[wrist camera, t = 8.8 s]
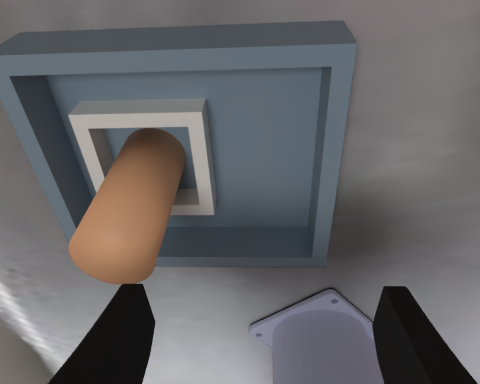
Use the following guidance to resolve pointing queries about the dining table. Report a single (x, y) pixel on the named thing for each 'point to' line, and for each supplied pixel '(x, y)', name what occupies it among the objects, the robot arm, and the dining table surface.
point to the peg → (130, 210)
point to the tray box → (194, 129)
